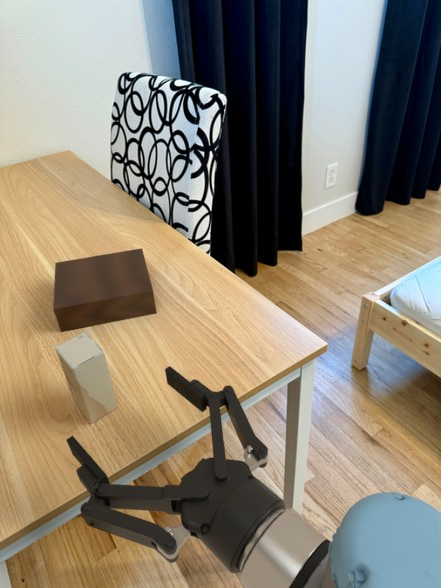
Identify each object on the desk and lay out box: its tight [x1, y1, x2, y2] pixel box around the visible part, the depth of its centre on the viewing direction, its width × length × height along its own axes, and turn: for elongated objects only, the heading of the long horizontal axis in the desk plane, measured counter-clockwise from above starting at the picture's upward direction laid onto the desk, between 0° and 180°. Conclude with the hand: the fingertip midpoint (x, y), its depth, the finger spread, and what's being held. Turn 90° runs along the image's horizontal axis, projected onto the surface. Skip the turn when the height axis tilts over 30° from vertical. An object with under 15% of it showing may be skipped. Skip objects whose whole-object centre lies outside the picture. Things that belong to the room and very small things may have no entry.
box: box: [54, 331, 119, 425], centre depth 56 cm, size 5×4×11 cm
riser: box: [52, 247, 157, 333], centre depth 77 cm, size 16×14×5 cm
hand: (123, 407), depth 50 cm, fingers open, 13 cm apart
